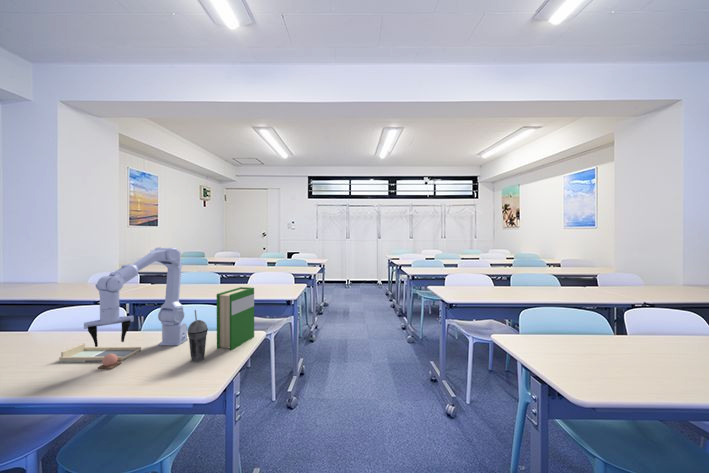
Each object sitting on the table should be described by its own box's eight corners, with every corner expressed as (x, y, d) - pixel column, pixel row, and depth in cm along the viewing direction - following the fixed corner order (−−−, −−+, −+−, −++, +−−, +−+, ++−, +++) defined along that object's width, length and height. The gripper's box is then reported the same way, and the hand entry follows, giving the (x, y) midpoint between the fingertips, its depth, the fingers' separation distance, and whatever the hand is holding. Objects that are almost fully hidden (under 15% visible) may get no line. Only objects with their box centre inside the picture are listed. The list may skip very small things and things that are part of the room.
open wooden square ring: (121, 363, 115) (121, 361, 115) (111, 369, 110) (111, 367, 110) (108, 363, 115) (108, 361, 115) (97, 369, 110) (97, 367, 110)
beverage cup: (212, 357, 121) (212, 308, 121) (197, 364, 114) (197, 312, 114) (198, 354, 123) (198, 306, 123) (182, 361, 117) (182, 310, 116)
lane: (140, 351, 128) (140, 342, 128) (120, 361, 117) (120, 352, 117) (84, 351, 127) (84, 342, 127) (59, 362, 116) (59, 352, 116)
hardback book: (231, 350, 128) (231, 294, 128) (216, 348, 130) (216, 293, 130) (254, 336, 146) (254, 287, 146) (240, 335, 147) (240, 287, 147)
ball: (120, 363, 115) (120, 351, 115) (111, 368, 110) (111, 356, 110) (108, 363, 115) (108, 351, 115) (98, 368, 110) (98, 356, 110)
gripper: (132, 303, 121) (132, 336, 121) (84, 309, 111) (84, 345, 111) (134, 306, 115) (134, 341, 115) (83, 312, 106) (83, 350, 106)
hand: (109, 343), depth 113 cm, fingers open, 7 cm apart
